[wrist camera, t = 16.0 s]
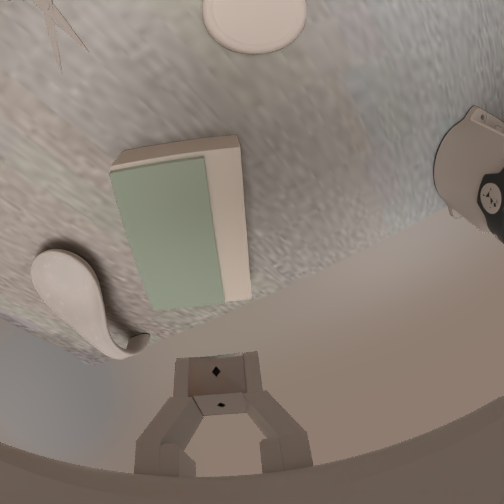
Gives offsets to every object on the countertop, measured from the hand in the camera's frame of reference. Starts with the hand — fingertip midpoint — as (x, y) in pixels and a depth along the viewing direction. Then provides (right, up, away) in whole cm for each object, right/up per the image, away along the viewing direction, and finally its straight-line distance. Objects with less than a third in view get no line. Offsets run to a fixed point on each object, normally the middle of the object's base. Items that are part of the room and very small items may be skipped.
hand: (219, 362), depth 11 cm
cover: (-8, +5, +22) cm, 24 cm away
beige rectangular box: (-7, +8, +26) cm, 29 cm away
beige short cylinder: (+1, +29, +13) cm, 32 cm away
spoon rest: (-23, -3, +33) cm, 40 cm away
